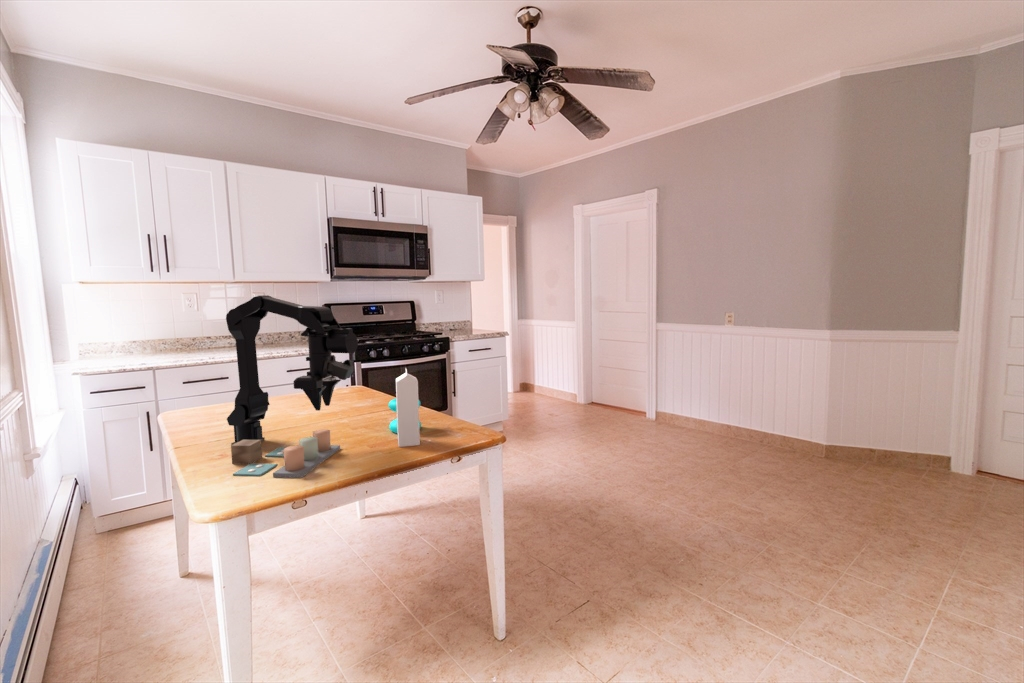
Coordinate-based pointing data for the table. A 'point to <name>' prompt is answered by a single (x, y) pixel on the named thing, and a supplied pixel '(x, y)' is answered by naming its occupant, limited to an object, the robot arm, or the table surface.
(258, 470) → the pad two
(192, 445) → the table surface
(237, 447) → the brown cube
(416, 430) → the milk
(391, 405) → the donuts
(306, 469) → the board
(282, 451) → the pad three
